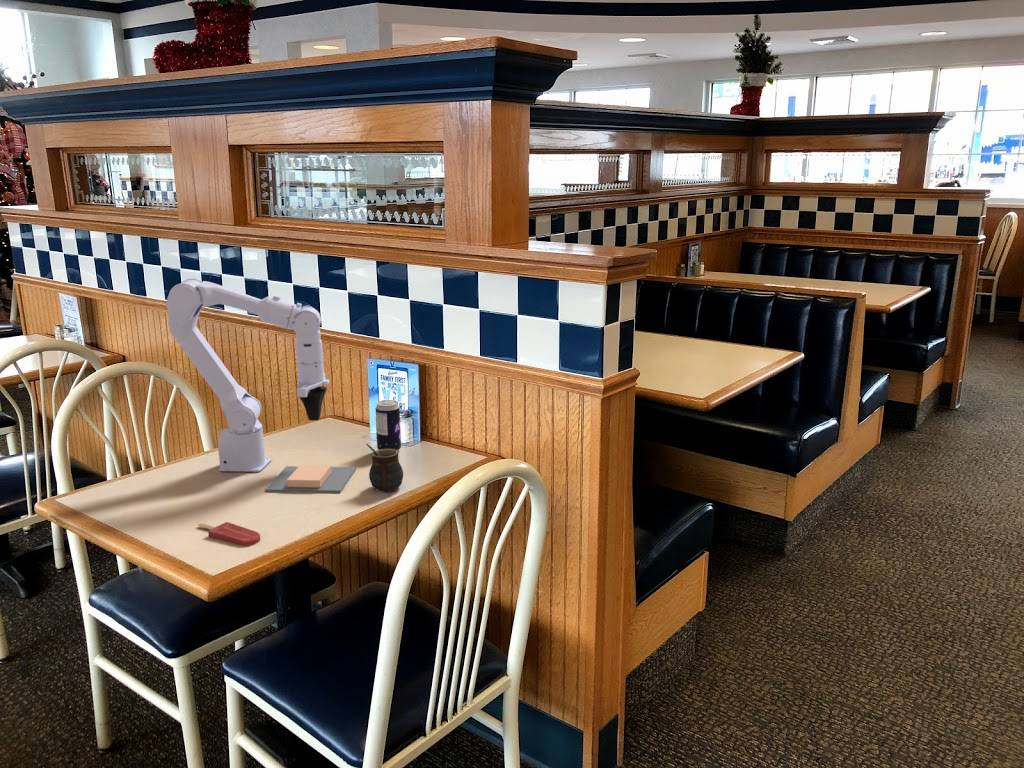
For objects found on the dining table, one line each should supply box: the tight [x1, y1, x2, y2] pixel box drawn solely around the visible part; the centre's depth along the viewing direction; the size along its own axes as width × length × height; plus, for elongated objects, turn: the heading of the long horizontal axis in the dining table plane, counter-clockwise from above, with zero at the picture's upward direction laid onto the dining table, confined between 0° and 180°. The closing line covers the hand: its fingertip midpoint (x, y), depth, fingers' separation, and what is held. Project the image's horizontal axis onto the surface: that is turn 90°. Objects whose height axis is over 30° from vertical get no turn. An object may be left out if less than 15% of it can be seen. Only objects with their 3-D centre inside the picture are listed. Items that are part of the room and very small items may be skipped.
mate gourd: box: [365, 442, 404, 493], centre depth 172 cm, size 7×8×10 cm
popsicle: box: [198, 521, 261, 547], centre depth 151 cm, size 4×2×15 cm
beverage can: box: [375, 399, 402, 452], centre depth 196 cm, size 6×6×12 cm
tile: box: [287, 464, 332, 488], centre depth 177 cm, size 7×2×9 cm
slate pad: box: [264, 465, 357, 494], centre depth 178 cm, size 16×14×1 cm
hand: (314, 419), depth 187 cm, fingers closed
